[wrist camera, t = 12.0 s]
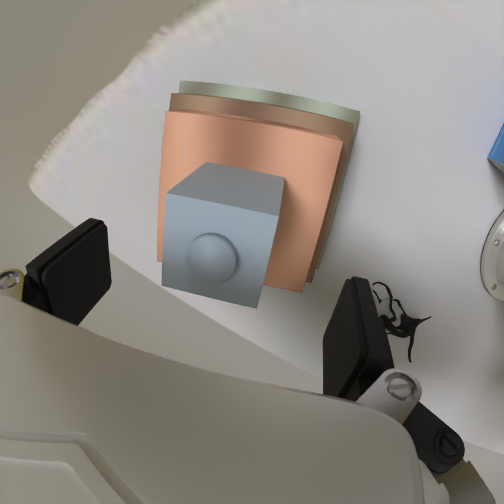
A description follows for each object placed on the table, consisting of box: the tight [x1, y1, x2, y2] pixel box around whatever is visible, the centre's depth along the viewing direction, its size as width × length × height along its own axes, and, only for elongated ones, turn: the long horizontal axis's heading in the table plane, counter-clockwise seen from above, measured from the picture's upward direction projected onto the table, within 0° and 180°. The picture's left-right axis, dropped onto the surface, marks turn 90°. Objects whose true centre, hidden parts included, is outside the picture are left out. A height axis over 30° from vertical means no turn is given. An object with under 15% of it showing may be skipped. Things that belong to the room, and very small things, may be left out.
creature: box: [373, 282, 431, 362], centre depth 28 cm, size 8×5×8 cm
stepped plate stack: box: [157, 81, 360, 292], centre depth 22 cm, size 14×14×8 cm
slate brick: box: [162, 162, 285, 309], centre depth 15 cm, size 4×4×7 cm
